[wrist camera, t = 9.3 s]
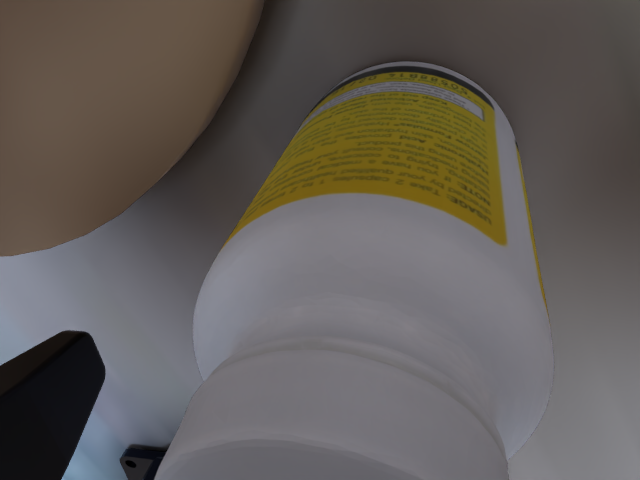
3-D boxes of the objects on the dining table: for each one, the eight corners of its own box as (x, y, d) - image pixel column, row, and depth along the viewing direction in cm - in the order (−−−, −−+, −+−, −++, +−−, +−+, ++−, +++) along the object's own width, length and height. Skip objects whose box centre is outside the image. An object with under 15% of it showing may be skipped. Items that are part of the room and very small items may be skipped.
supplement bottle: (258, 131, 14) (-7, 457, 6) (447, 6, 12) (408, 281, 4) (373, 282, 16) (281, 684, 8) (557, 202, 14) (693, 673, 6)
